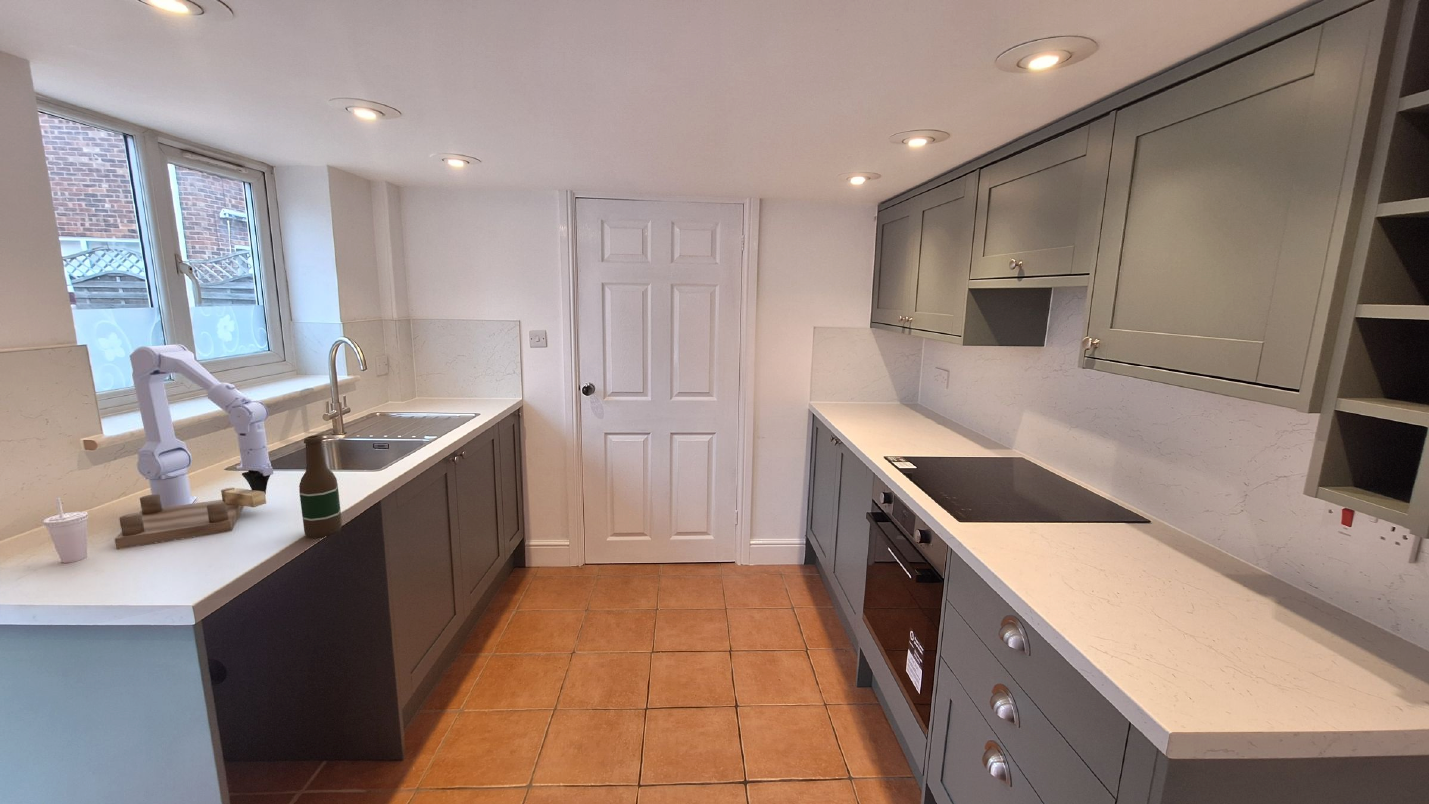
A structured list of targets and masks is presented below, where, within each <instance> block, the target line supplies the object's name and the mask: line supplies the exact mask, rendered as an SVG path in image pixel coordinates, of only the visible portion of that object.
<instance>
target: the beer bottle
mask: <svg viewBox="0 0 1429 804" xmlns="http://www.w3.org/2000/svg"><path fill="white" fill-rule="evenodd" d="M323 440H324V439H323V437H322V436H321V435H310V436H306V437H304V440H303V444H305V463H306V464H305V465H306V466H305V472H304V473H303V474H302V477H301V479H300V481H299V486H298V487H299V489H298V490H299V500H300V507H301V516H302V523H303V530H304V535H305V536H306V537H309V538H313V539H316V538H325V537H329V536H332V535H335V534H337V533H340V531H341V529H342V528H343V527H342V526H343V525H342V523H343V522H342V511H341V501H340V494H339V484H338V480H337V477H336V475H335V473H334V472H333V471H331V470H330V469H329V468H328V466H327V462H326V457H325V453H324V447H323V443H322V441H323Z"/></svg>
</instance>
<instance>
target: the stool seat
mask: <svg viewBox="0 0 1429 804" xmlns="http://www.w3.org/2000/svg"><path fill="white" fill-rule="evenodd" d="M139 502H140V508H141V511H140V512H138V513H137V512H136V513H129V514H125V515H122V516H120V517H119V524H120V530H121V532H120V533H118V534H117V536H115V538H114V543H115V548H116V550H120V548H121V549H126V548H132V547H131V546H133V547H137V545H140V546H145V544H146V545H151V544H156V543H155V542H158V543H163V542H162V541H165V542H168V541H169V542H170V540H171V541H175V540H174V539H177V540H183V539H182V538H184V539H188V538H189V537H190V538H194V537H193V536H196V537H202V536H208V535H214V534H220V533H227V532H232V531H233V529H234V527H235V525H236V523H237V521H238V519H239V517H240V515H241V513H242V511H243V509H244V507H245V506H240V505H234V504H227V503H226V502H223V501H222V499H217V500H208V501H201V502H195V503H194V502H193V503H192V504H186V505H178V506H171V507H164V508H162V505H161V499H160V495H159V494H153V495H151V494H147V495H144V496H141V497H139ZM201 535H202V536H201Z"/></svg>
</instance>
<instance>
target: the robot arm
mask: <svg viewBox="0 0 1429 804" xmlns="http://www.w3.org/2000/svg"><path fill="white" fill-rule="evenodd" d="M129 360H130V363H131V364H130V365H131V368H132V381H133V386H134V390H135V395H136V399H137V403H138V407H139V412H140V417H141V421H142V426H143V430H144V433H145V438H146V439H145V440H146V442H145V444H144V445H143V446H142V447H141V448H140V449H139V450H137V457H138V458H137V459H138V460H137V462H136V468H137V471H138V473H139V474H140V475H141V476H142V477H143V478H145V480H148V482H149V488H150V495H153V494H159V495H160V499H161V505H162V508H164V507H171V506H178V505H186V504H193V503H194V502H195V501H196V499H197V496H192V490H191V484H190V479H189V476H188V474H187V472H189V468H190V467H191V466H192V463H193V455H192V454H191V452H190V451H189V449H188V447H187V444H186V442H184V441H182V440H180V439H178V438H177V437H176V433H175V430H174V429H175V428H174V424H173V420H172V415H171V411H170V406H169V401H168V396H167V392H166V388H165V382H164V381H165V380H166V379H167V378H168V377H169V376H171V374H181V375H182V376H183V377H184V378H187V379H188V380H189V381H191V382H192V383H194V384H195V385H196V386H198V387H200V388H201V389H203V390H205V391H206V393H207V395H206V396H207V399H208V400H209V401H211V402H212V403H214V404H215V406H217V407H219V408H220V409H221V410H223V411H224V412H225V413H227V414H228V415H227V418H228V420H229V422H230V424H231V425H232V426H233V428H234V432H235V433H236V434H237V441H238V447H239V455H240V460H239V465H238V466H236V468H235V469H236V470H238V471H244V470H245V472H242V473H241V476H242V477H243V478H244V479H245V480H246V482H247V484H248V485H249V486H250V490H255V491H262V492H265V496H266V494H267V487H268V483H269V479H270V476H271V475H274V469H273V466H272V464H271V460H270V459H269V456H270V455H269V450H268V449H269V448H268V441H267V435H266V426H265V421H266V420H267V419H268V417H269V415H270V414H269V413H270V412H269V409H268V407H267V406H266V405H265V404H264V402H262V401H261V400H253V399H252V398H251V399H250V398H249V397H248V396H246V395H245V394H244V393H242V392H241V391H239V390H238V389H237V388H236V386H235V385H234V384H233V383H229V382H220V381H219V380H218V379H216V377H214V375H212V374H211V373H210V372H209V371H208V370H206V368H204V366H202V365H201V363H199V362H198V361H197V360H195V355H194V352H192V351H190V350H189V349H188V348H187V347H186V346H185V345H183V344H179V343H173V344H166V345H152V346H146V345H145V346H139V347H137V348H135V349H134V351H133V352H132V353H131V354H130V355H129ZM246 470H247V471H246Z"/></svg>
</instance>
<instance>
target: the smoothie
mask: <svg viewBox="0 0 1429 804" xmlns="http://www.w3.org/2000/svg"><path fill="white" fill-rule="evenodd" d="M55 502H56V506H57V511H58V514H56V515H52V516H49V517H47V518H45V519H44V520H43V521H42V522H43V527H46V529H47V532H48V534H49V536H50V538H51V541H52V543H53V546H54V548H55V549H56V550H55V551H56V552H57V554H58V558H59V559H60V563H63V564H67V563H74V562H78V561H82V560H84V559H86V558H87V557H88V533H87V531H88V530H87V529H88V524H87V523H88V522H87V520H88V519H89V517H90V516H89V515H88V512H87V511H70V512H65V513H64V511H63V507H62V502H61V497H56V498H55Z"/></svg>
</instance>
